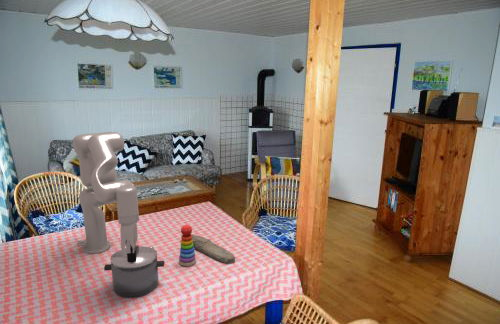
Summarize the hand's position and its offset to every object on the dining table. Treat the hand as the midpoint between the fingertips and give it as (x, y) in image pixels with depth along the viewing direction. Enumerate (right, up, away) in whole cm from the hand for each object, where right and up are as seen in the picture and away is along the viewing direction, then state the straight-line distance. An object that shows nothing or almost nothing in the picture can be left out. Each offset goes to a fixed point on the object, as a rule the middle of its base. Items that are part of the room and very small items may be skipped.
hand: (132, 261), depth 139 cm
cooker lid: (-1, -1, +6) cm, 6 cm away
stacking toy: (+17, -8, +27) cm, 33 cm away
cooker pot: (-1, -13, +9) cm, 16 cm away
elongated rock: (+25, -6, +38) cm, 46 cm away
